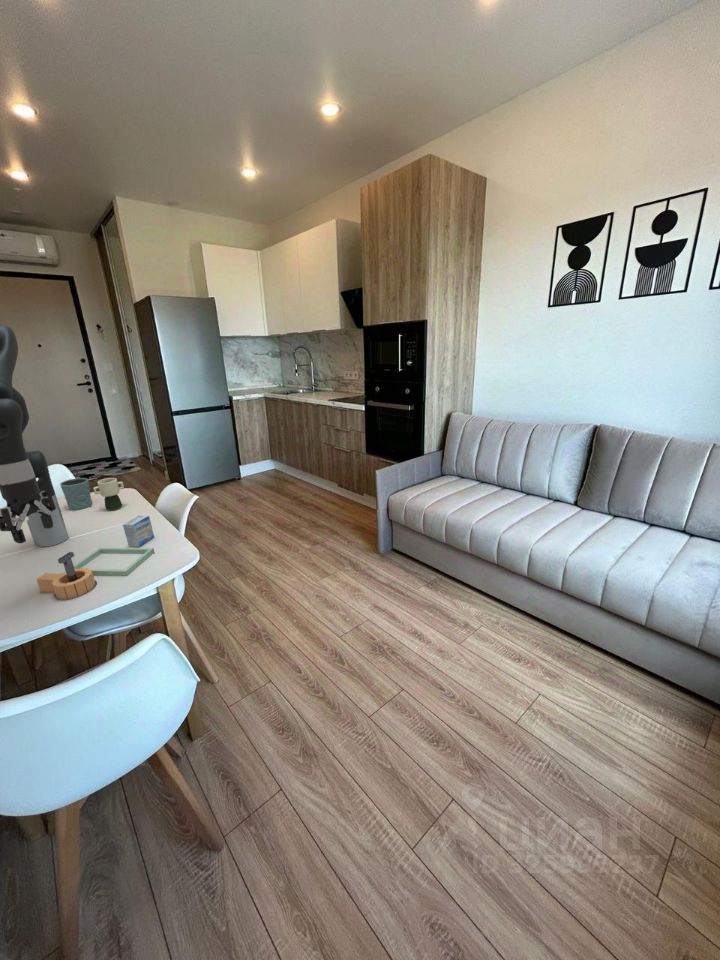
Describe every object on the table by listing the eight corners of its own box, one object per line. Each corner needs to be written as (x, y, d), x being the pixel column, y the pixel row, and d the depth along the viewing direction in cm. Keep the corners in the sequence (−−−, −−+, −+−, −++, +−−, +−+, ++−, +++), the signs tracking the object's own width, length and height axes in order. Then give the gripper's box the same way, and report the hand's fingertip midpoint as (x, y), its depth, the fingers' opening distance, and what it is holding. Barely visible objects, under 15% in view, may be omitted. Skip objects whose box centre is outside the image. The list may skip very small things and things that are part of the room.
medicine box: (139, 547, 134) (133, 525, 131) (128, 546, 135) (122, 524, 132) (154, 537, 142) (149, 515, 139) (144, 536, 142) (139, 514, 140)
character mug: (127, 502, 175) (120, 475, 171) (129, 507, 170) (122, 479, 166) (98, 509, 169) (91, 481, 165) (100, 514, 164) (92, 485, 159)
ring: (31, 598, 106) (26, 585, 105) (58, 579, 115) (54, 567, 114) (78, 599, 105) (74, 586, 104) (102, 580, 114) (98, 568, 112)
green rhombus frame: (68, 577, 117) (66, 570, 117) (101, 554, 131) (99, 547, 130) (127, 578, 116) (126, 571, 115) (155, 554, 129) (153, 548, 128)
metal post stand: (46, 602, 106) (32, 565, 102) (74, 581, 115) (63, 546, 111) (80, 603, 105) (68, 565, 101) (106, 582, 114) (95, 547, 111)
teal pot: (73, 504, 176) (66, 479, 172) (98, 501, 179) (91, 476, 175) (63, 512, 167) (55, 486, 163) (89, 509, 169) (82, 483, 165)
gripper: (27, 470, 107) (44, 523, 112) (-26, 487, 93) (-3, 547, 99) (52, 469, 106) (69, 523, 111) (3, 487, 93) (24, 548, 98)
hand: (35, 535), depth 105 cm, fingers open, 8 cm apart
